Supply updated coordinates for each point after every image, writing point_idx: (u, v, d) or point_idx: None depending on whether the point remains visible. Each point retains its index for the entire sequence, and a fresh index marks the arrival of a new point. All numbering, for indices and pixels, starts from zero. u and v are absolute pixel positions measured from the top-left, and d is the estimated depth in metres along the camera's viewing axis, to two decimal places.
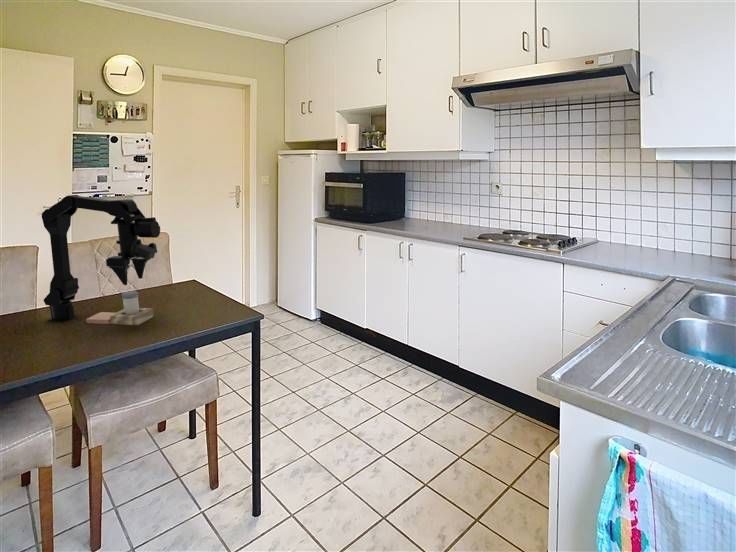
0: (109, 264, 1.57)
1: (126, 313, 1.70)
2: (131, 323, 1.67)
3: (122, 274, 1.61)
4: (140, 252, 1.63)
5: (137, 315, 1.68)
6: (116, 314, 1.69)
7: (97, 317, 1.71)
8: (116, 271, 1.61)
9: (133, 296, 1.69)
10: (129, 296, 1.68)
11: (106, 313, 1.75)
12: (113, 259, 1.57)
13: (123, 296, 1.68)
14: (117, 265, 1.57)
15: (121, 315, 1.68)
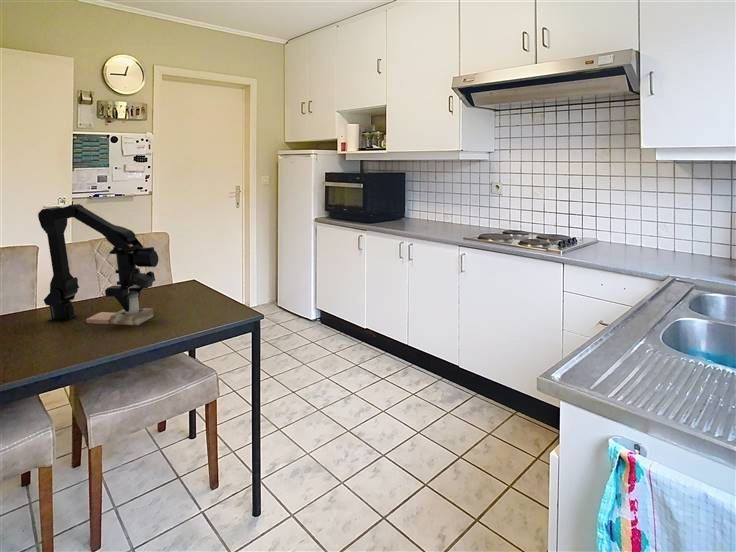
0: (108, 294, 1.61)
1: (126, 313, 1.70)
2: (131, 323, 1.67)
3: (124, 301, 1.67)
4: (138, 281, 1.66)
5: (137, 315, 1.68)
6: (116, 314, 1.69)
7: (97, 317, 1.71)
8: (118, 298, 1.67)
9: (133, 296, 1.69)
10: None
11: (106, 313, 1.75)
12: (112, 289, 1.61)
13: None
14: (116, 295, 1.61)
15: (121, 315, 1.68)
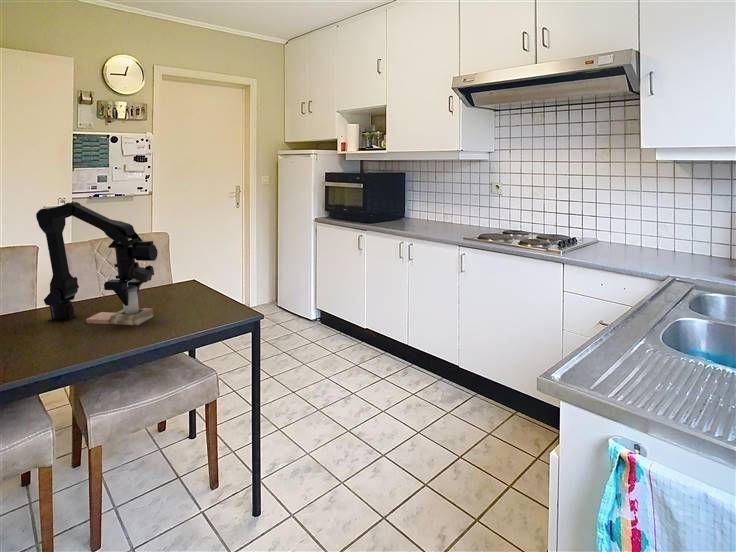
0: (107, 288, 1.60)
1: (125, 307, 1.69)
2: (131, 323, 1.67)
3: (123, 295, 1.67)
4: (137, 275, 1.66)
5: (137, 315, 1.68)
6: (116, 314, 1.69)
7: (97, 317, 1.71)
8: (117, 292, 1.66)
9: (132, 290, 1.68)
10: None
11: (106, 313, 1.75)
12: (111, 283, 1.60)
13: None
14: (115, 289, 1.60)
15: (121, 315, 1.68)
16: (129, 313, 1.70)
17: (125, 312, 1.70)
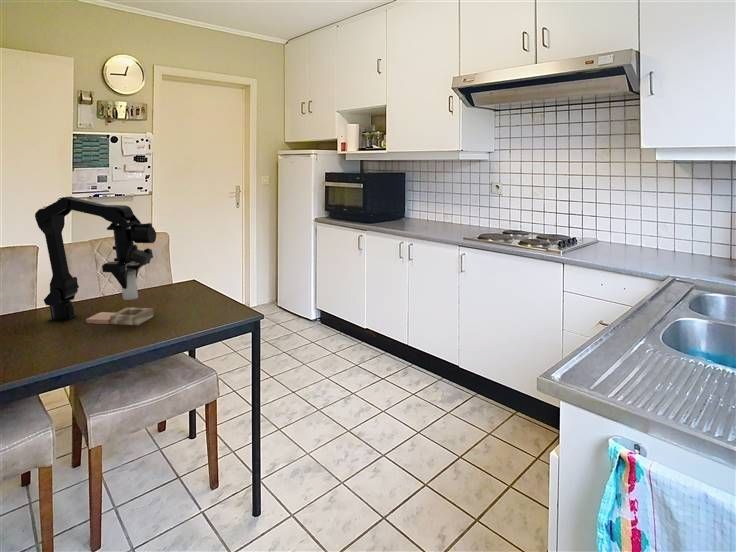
0: (105, 270, 1.59)
1: (124, 290, 1.68)
2: (131, 323, 1.67)
3: (122, 278, 1.65)
4: (136, 258, 1.64)
5: (137, 315, 1.68)
6: (116, 314, 1.69)
7: (97, 317, 1.71)
8: (116, 275, 1.65)
9: (131, 273, 1.67)
10: (127, 273, 1.66)
11: (106, 313, 1.75)
12: (109, 265, 1.59)
13: None
14: (113, 271, 1.59)
15: (121, 315, 1.68)
16: (128, 296, 1.68)
17: (124, 295, 1.68)
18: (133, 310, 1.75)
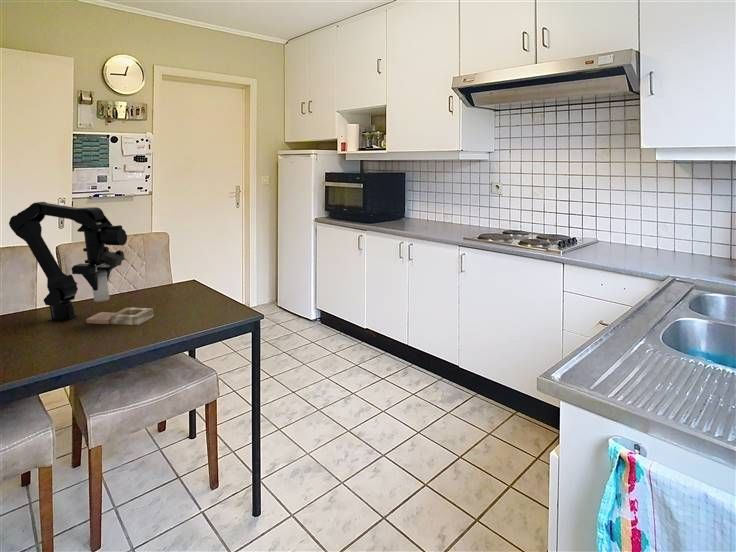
0: (75, 272, 1.59)
1: (94, 292, 1.68)
2: (131, 323, 1.67)
3: (92, 280, 1.65)
4: (106, 260, 1.65)
5: (137, 315, 1.68)
6: (116, 314, 1.69)
7: (97, 317, 1.71)
8: (86, 277, 1.65)
9: (101, 275, 1.67)
10: None
11: (106, 313, 1.75)
12: (78, 267, 1.59)
13: None
14: (82, 273, 1.59)
15: (121, 315, 1.68)
16: (98, 298, 1.68)
17: (94, 297, 1.68)
18: (133, 310, 1.75)
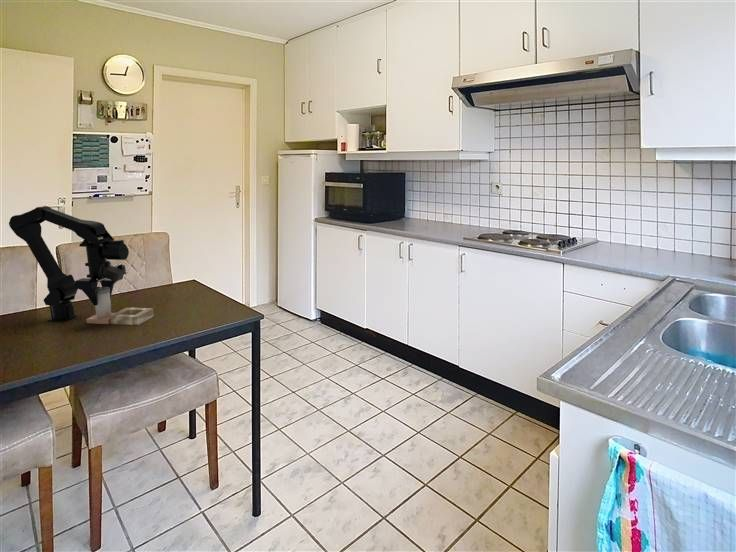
0: (77, 287, 1.60)
1: (97, 308, 1.69)
2: (131, 323, 1.67)
3: (92, 295, 1.65)
4: (108, 274, 1.66)
5: (137, 315, 1.68)
6: (116, 314, 1.69)
7: (97, 317, 1.71)
8: (86, 292, 1.65)
9: (104, 291, 1.69)
10: (100, 291, 1.68)
11: None
12: (80, 282, 1.60)
13: None
14: (84, 288, 1.60)
15: (121, 315, 1.68)
16: (101, 314, 1.70)
17: (97, 313, 1.70)
18: (133, 310, 1.75)
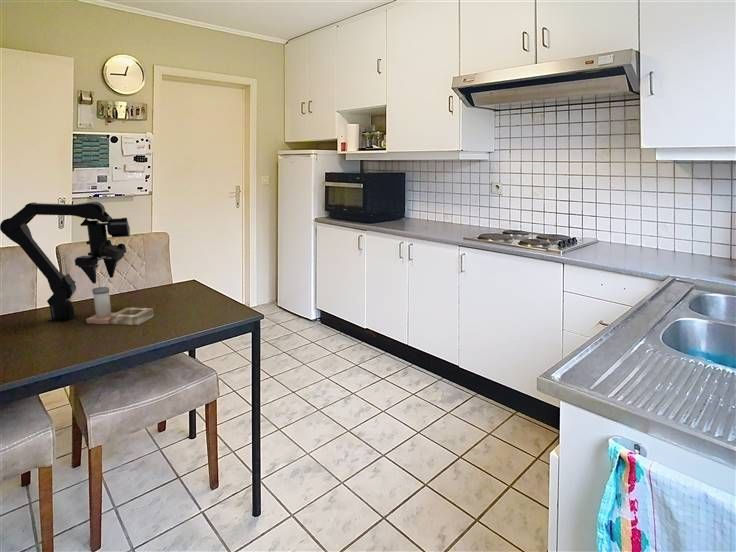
0: (77, 263, 1.65)
1: (97, 309, 1.69)
2: (131, 323, 1.67)
3: (91, 273, 1.69)
4: (108, 252, 1.70)
5: (137, 315, 1.68)
6: (116, 314, 1.69)
7: None
8: (85, 270, 1.69)
9: (104, 292, 1.68)
10: (99, 292, 1.68)
11: None
12: (81, 259, 1.65)
13: (93, 292, 1.68)
14: (85, 264, 1.65)
15: (121, 315, 1.68)
16: (101, 315, 1.70)
17: (97, 314, 1.70)
18: (133, 310, 1.75)
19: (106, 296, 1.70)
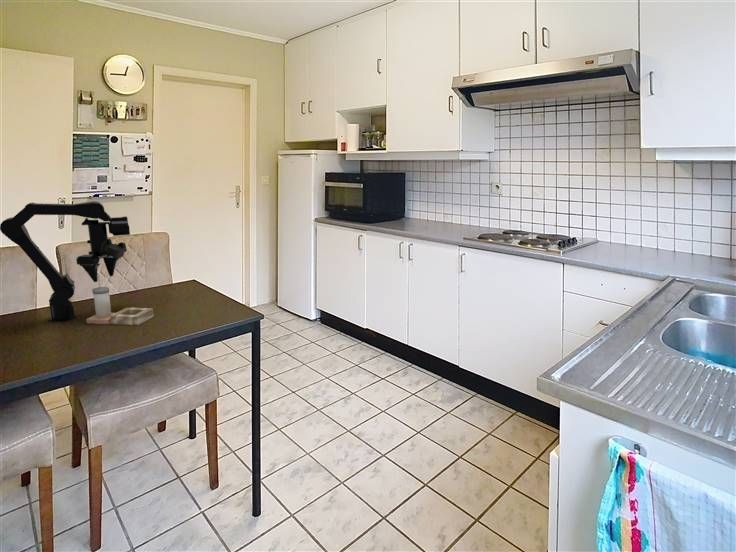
0: (79, 262, 1.67)
1: (97, 309, 1.69)
2: (131, 323, 1.67)
3: (92, 272, 1.71)
4: (109, 251, 1.72)
5: (137, 315, 1.68)
6: (116, 314, 1.69)
7: None
8: (86, 269, 1.71)
9: (104, 292, 1.68)
10: (99, 292, 1.68)
11: None
12: (83, 257, 1.67)
13: (93, 292, 1.68)
14: (87, 263, 1.67)
15: (121, 315, 1.68)
16: (101, 315, 1.70)
17: (97, 314, 1.70)
18: (133, 310, 1.75)
19: (106, 296, 1.70)
